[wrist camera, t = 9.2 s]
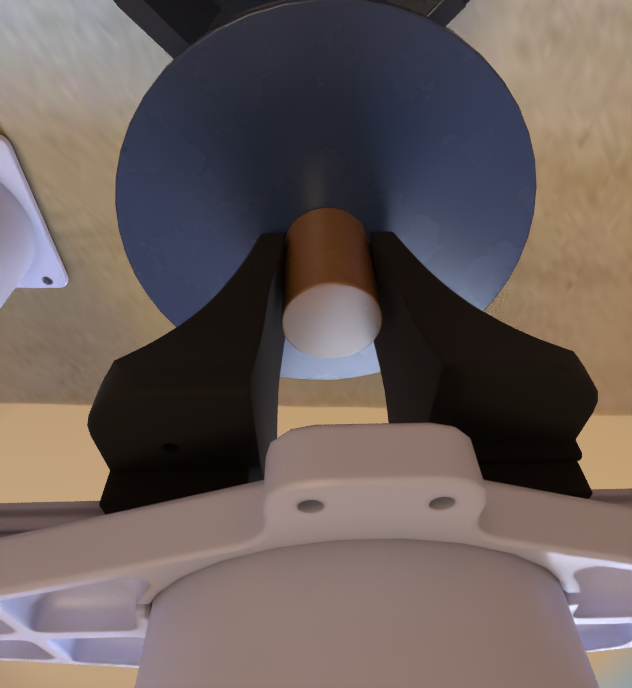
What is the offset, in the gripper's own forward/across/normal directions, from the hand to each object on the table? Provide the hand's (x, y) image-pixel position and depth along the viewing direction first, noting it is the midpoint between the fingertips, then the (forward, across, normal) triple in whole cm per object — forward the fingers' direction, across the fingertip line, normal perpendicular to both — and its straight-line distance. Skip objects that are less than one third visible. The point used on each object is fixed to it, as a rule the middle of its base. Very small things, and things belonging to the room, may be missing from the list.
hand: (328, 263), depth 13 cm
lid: (+1, 0, 0) cm, 1 cm away
